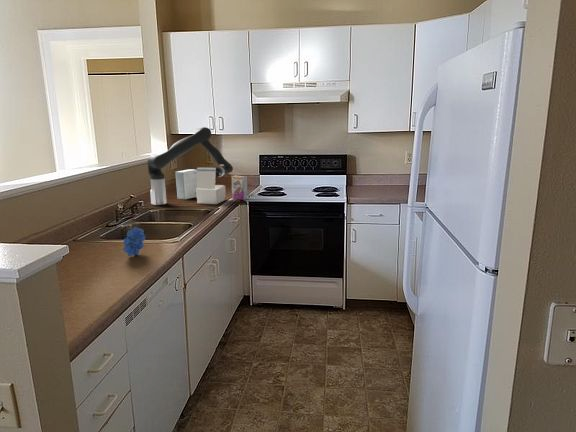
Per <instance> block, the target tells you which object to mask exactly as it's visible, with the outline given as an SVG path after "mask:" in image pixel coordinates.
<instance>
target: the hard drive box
mask: <svg viewBox="0 0 576 432" xmlns="http://www.w3.org/2000/svg"><path fill="white" fill-rule="evenodd" d="M174 173H175V184H176V194H177V196H176V197H177V200H190V199H192V198H197V197H196V188H197V169H193V168H192V169H184V170H178V171H175V172H174Z"/></svg>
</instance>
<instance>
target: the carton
mask: <svg viewBox="0 0 576 432" xmlns="http://www.w3.org/2000/svg"><path fill="white" fill-rule="evenodd" d="M195 198H196V202H197V203H196V204H198V205H199V204H200V205H201V204H202V205H218V204H221V203H222V202H224V201H226V185H224V184H223V185H222V184H215V189H204V188H196V197H195Z"/></svg>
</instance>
